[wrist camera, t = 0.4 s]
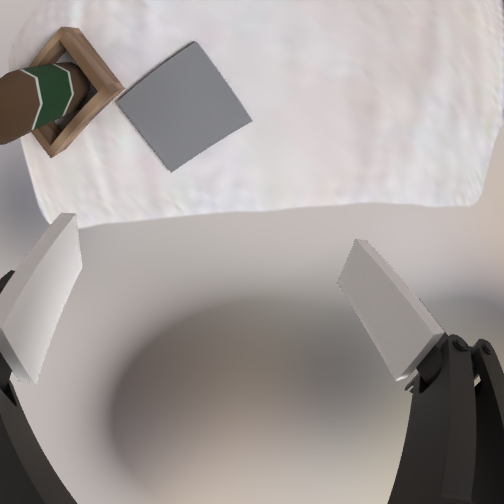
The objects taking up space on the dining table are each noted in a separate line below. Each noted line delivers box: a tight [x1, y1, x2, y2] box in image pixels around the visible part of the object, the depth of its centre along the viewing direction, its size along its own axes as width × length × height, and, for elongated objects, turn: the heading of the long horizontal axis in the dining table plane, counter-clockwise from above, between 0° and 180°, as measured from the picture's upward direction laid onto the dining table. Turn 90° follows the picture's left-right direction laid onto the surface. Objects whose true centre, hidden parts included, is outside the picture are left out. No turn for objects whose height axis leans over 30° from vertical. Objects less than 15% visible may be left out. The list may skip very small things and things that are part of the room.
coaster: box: [117, 42, 252, 173], centre depth 29 cm, size 12×12×1 cm
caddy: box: [29, 27, 125, 158], centre depth 24 cm, size 12×12×4 cm
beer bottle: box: [0, 62, 90, 145], centre depth 16 cm, size 8×8×24 cm
